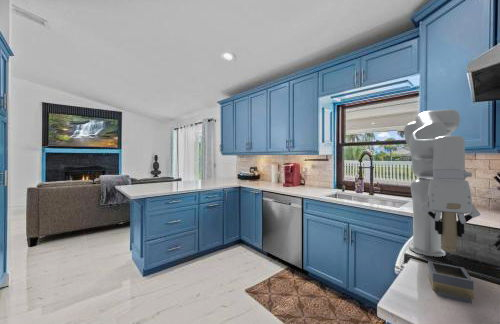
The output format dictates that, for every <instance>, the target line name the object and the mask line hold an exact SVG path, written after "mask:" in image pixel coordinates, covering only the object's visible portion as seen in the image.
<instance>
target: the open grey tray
mask: <svg viewBox="0 0 500 324" xmlns="http://www.w3.org/2000/svg"><path fill="white" fill-rule="evenodd" d="M427 266H428V267H427V277H428V279H429V282H430V285H431V288H432V290H433V291H436V292H437V294H438V296H439V297H442V298H443V297H444V298H447V299H450V300H451V299H452V300H456V301H460V302H464V303H468V304H473V300H474V299H475V298H474V296H475V295H474V294H475V293H474V292H475V291H474V289H475V288H474V287H475V285H474V284H475V283H474V279H472V277H471V275H469V273H468V271H467V270H466V268H465V267H462V266H458V265H457V266H455V265H451V264H447V263H446V264H445V263H441V262H435V261H429V260H428V261H427Z"/></svg>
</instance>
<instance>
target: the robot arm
mask: <svg viewBox="0 0 500 324" xmlns="http://www.w3.org/2000/svg"><path fill="white" fill-rule="evenodd" d="M415 117H416V118H415V120H414V121H411V122H409V123H407V124H406V125H405V126H404V128H403V129H404V130H403V135H404V140H405V142H406V144H407V146H408V148H409V151H410V155H411V166H412V172H413V173H412V174H413V175H414V176H415V177H416V178H418V179H415V180H413V181H411V183H410V194H411V200H412V224H413V225H412V243H411V244H409V245H408V249H409V250H410V251H412V252H413V251H414V252H413V253H417V254H419V255H422V254H423V255H422V256H427V257H433V256H434V258H436V257H437V258H440V257H441V258H442V256H443V257H445V256H446V252H447V251H445V250H443V249H442V242H441V234H442V222H441V220H442V212H452V213H456V218H457V231H458V233H457V234H458V237H459V238H462V237H463V235H464V234H465V225H466V224H467V222H469V221H470V220H472V219H475V218H477V217H479V216H481V213H480V211H479V210H478V209H477V208H476V207H475V206H474V205H473V201H472V192H471V186H470V182H469V181H468V180H466V179H467V178H471V177H472V175H473V174H472V173H473V172H471V171H470V172H469V171H467V170H466V143H465V142H466V141H465V138H464V137H463V136H461V135H452V134H453V133H454V132H455V131H456V130H457V129H458V127H459V126H460V123H461V115H460V114H459V112H458V111H457V110H456V109H451V108H450V109H449V108H448V109H447V108H446V109H437V110H426V111H423V112H420V113H419V114H418V115H416V116H415ZM447 203H450V204H461V208H460V209H447V208H446V207H447Z"/></svg>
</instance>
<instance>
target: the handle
mask: <svg viewBox="0 0 500 324" xmlns="http://www.w3.org/2000/svg"><path fill="white" fill-rule="evenodd" d="M446 208H447V209H460V208H461V204H450V203H447V207H446ZM457 220H458V218H457V213H452V212H441V222H442V234H441V249H442V250H444V251H445V252H447V253H453V254H454V253H456V252H457V246H458V239H459V238H458V237H459V236H458V234H457V233H458V231H457Z"/></svg>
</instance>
